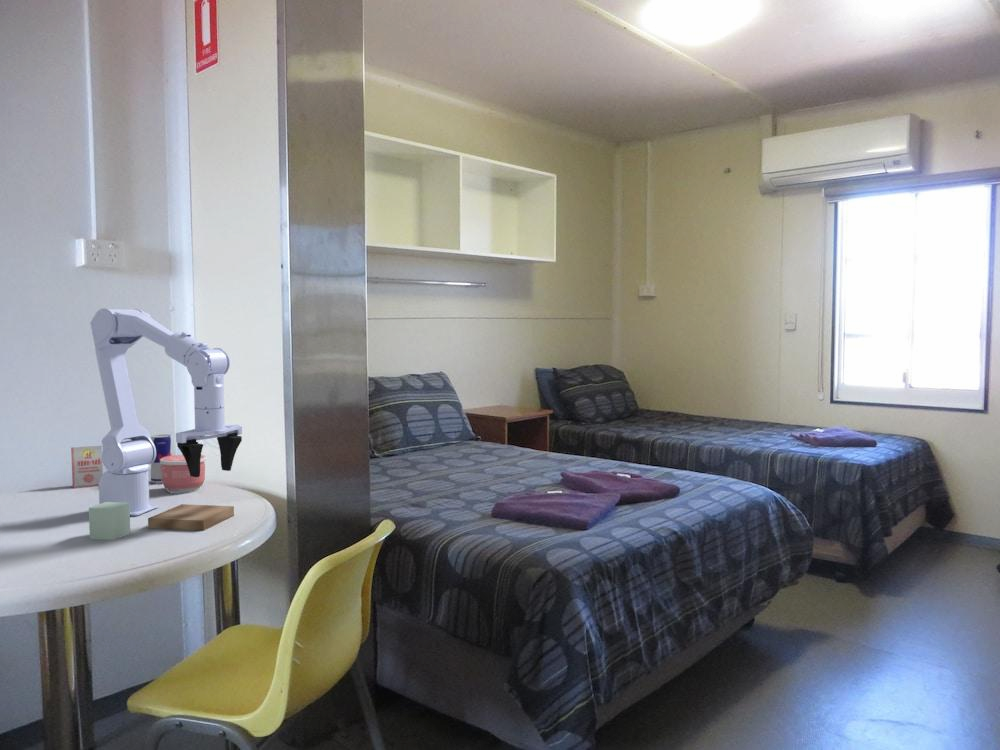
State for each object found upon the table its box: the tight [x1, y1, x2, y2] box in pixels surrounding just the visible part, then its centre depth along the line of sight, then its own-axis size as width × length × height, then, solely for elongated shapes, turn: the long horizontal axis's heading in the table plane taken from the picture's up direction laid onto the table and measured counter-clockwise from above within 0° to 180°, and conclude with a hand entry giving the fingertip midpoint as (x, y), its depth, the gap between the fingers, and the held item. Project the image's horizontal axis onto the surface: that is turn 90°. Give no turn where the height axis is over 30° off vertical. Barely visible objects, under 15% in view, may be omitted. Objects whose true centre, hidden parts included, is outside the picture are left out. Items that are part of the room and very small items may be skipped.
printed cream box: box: [70, 444, 104, 489], centre depth 194 cm, size 4×7×10 cm, turn 119°
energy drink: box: [150, 434, 174, 485], centre depth 198 cm, size 5×5×12 cm
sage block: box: [88, 502, 131, 541], centre depth 148 cm, size 5×5×6 cm
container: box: [160, 454, 207, 494], centre depth 188 cm, size 10×10×8 cm
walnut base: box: [147, 503, 235, 532], centre depth 158 cm, size 12×12×2 cm
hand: (211, 473), depth 158 cm, fingers open, 7 cm apart
